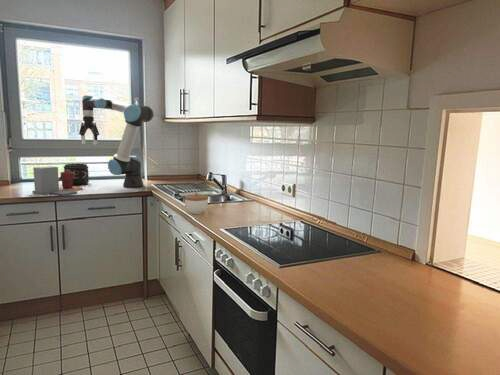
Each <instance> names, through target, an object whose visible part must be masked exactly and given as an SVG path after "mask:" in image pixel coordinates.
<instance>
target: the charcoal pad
mask: <svg viewBox="0 0 500 375" xmlns="http://www.w3.org/2000/svg"><path fill="white" fill-rule="evenodd" d="M51 195H53V196H59V197H65V196H66V197H67V196H72V195H78V191H70V190H64V191H57V192H52V194H51Z"/></svg>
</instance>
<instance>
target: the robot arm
mask: <svg viewBox="0 0 500 375" xmlns="http://www.w3.org/2000/svg"><path fill="white" fill-rule="evenodd" d="M93 96H94V95H89V94H83V95H82V96H81V104H82V105H81V106H82V121H83V122H81V123H80V129H79V131H78V132H79V133H78V135H80V138H81V139H80V140H81V144H82V145H86V133H87V131H88V130H90V131H91V133H92V134H93V135H92V136H93V137H92V139H93V145H94V146H96V145H97V146H98V136H100V133H99V130H98V127H97V123H96V122H95V117H94V109H104V110H111V111H116V112H120V113H123V118H124V122H125V128H124V130H123V135H122V136H121V140H120V143H119V147H118V150H117V152H116V153H115V154H114V155H113V158H111V159H110V160H109V161H108V163H107V169H108V170H109V172H110V174H111V175H113V176H121V175H125V176H124V181H123V183H122V187H123V188H127V189H133V188H134V189H135V188H137V189H138V188H142V187H144V185H145V184H144V182H143V178H142V161H141V158H140V157H137V156H131V152H132V149H133V146H134V143H135V140H136V137H137V133H138V131H139V128H141V127H142V126H143V123H149V122H151V121H152V120H153V118H154V116H155V115H154V114H155V113H154V110H153V108H151V107H150V106H147V105H140V104H131V103H127V102H123V101H118V100H116V99H113V98H110V99H109V98H103V97H93Z"/></svg>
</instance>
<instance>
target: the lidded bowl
mask: <svg viewBox="0 0 500 375" xmlns="http://www.w3.org/2000/svg"><path fill="white" fill-rule="evenodd" d="M208 202H209V195H207V194H199V193H198V192H195V193H194V194H188V195H187V194H186V195H185V196H184V204H185V208H186V210H187V211H188V212H189V213H190V214H192V215H201V214H203V213H204V212H205V211H206V209H207V207H208Z"/></svg>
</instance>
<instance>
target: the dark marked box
mask: <svg viewBox="0 0 500 375" xmlns="http://www.w3.org/2000/svg"><path fill="white" fill-rule="evenodd" d="M64 171H70V172H74V176H75V179H73V186H74V187H81V186H87V185H88V184H89V183H90V180H89V178H90V177H89V166H88V164H86V163H67V164H64V166H63V172H64Z"/></svg>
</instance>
